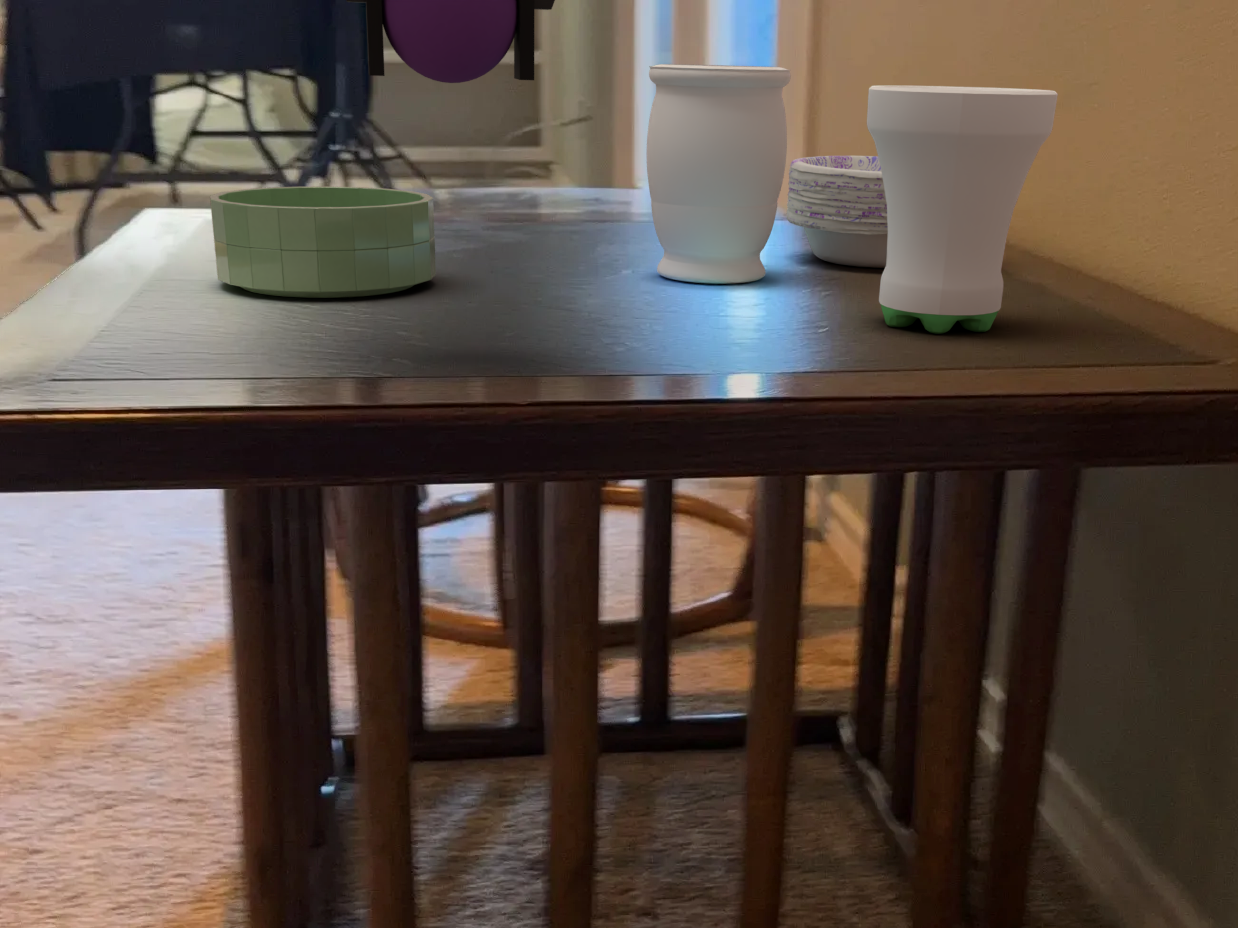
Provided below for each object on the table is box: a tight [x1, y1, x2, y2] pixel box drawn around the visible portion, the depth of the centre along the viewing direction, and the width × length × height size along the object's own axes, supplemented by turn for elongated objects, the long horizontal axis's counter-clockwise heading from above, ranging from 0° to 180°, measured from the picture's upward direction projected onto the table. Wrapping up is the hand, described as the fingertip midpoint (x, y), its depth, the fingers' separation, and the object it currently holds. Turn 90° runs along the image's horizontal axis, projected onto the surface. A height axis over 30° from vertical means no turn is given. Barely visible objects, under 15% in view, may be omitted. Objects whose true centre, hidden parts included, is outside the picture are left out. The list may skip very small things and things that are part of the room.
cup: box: [866, 84, 1059, 335], centre depth 86 cm, size 11×11×14 cm
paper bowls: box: [786, 155, 888, 269], centre depth 115 cm, size 15×15×8 cm
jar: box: [646, 63, 792, 285], centre depth 103 cm, size 11×10×15 cm
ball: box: [382, 0, 518, 84], centre depth 70 cm, size 7×7×7 cm
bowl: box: [209, 185, 437, 299], centre depth 98 cm, size 15×15×6 cm
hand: (450, 76), depth 72 cm, fingers closed on ball, 7 cm apart
